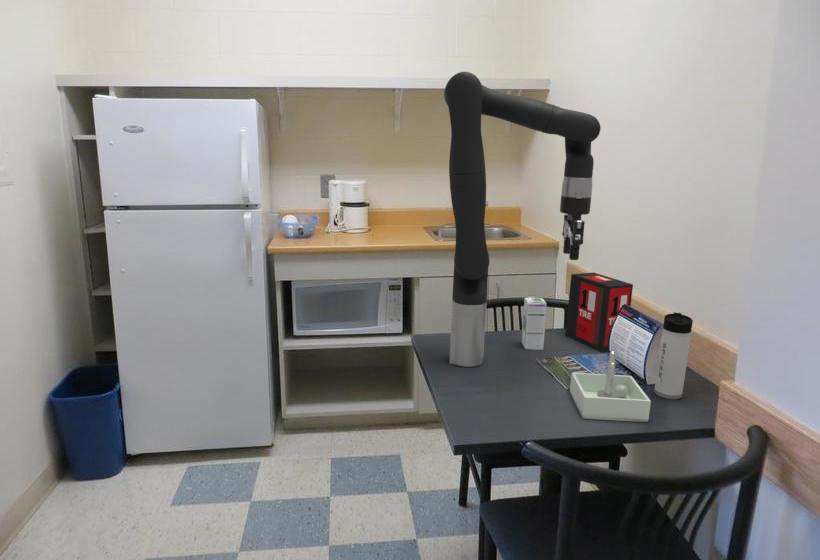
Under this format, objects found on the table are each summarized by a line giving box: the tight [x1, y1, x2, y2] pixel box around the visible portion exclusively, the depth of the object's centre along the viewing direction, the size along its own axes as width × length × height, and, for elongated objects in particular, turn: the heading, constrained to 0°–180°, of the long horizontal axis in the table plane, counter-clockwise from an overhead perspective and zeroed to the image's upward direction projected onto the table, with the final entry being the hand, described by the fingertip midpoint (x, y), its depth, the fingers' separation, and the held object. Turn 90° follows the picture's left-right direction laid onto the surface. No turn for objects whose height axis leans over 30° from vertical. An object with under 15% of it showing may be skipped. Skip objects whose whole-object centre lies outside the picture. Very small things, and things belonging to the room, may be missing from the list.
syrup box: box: [521, 296, 547, 351], centre depth 171 cm, size 6×6×14 cm
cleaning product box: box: [565, 272, 634, 354], centre depth 176 cm, size 16×9×20 cm, turn 24°
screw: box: [597, 351, 619, 398], centre depth 133 cm, size 13×5×5 cm
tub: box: [569, 372, 652, 423], centre depth 134 cm, size 14×14×5 cm
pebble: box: [615, 385, 628, 398], centre depth 138 cm, size 3×3×3 cm
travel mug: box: [653, 312, 694, 400], centre depth 140 cm, size 6×7×20 cm
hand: (570, 256), depth 153 cm, fingers open, 8 cm apart
